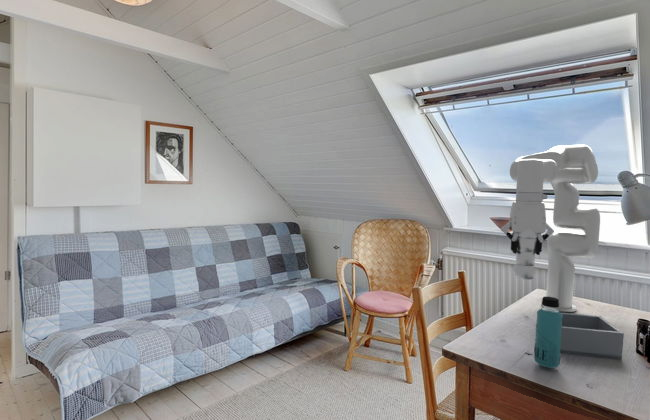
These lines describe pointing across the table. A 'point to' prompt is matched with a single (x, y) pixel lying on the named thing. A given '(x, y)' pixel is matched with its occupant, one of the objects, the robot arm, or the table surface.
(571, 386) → the table surface
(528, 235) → the silver aluminium bottle
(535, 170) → the robot arm
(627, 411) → the table surface
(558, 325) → the beverage bottle
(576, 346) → the bin
